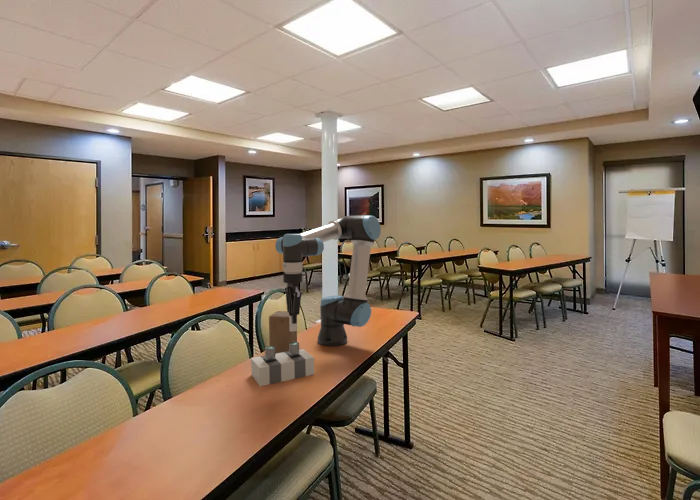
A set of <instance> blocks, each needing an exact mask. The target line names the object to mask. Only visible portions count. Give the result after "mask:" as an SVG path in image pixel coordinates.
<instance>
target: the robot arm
mask: <svg viewBox="0 0 700 500" xmlns="http://www.w3.org/2000/svg"><path fill="white" fill-rule="evenodd" d="M380 224H381V223H380V221H379V220H378V218H377V217H376V216H374V215H369V214H368V215H367V214H364V215H363V214H362V215H346V216H342V217H340V218H336V219H333V220H330V221H329V222H328V223H326V224H325V225H322V226H319V227H318V226H317V227H315V228H313V229H310V230H307V231H306V230H305V231H303V232H300V233H285V234H283V236H281V237H279V238H277V239H276V241H275V245H274V246H275V251H276V252H277V253H278V254H281V255H282V261H283V264H282V266H281V267H282V268H283V269H282V270H283V274H282V276H283V277H282V281H283V283H284V284H286V287H284V293H285V300H286V311H287V312H289V325H290V332H293V331H297V332H298V315H300V312H301V311H300V310H301V301H302V300H301V298H302V295H303V294H302V293H303V292H302V291H300V287H299V286H300V285H299V284H301V283H302V282H303V273H302V272H303V257H316V256H321V254H323V252H324V249H325V247H324V246H325V244H324V243H326V242H329V241H330V240H334V241H336V240H339V239H350V242H351V243H352V244H353V247H352V253H351V261H350V270H349V279H348V288H347V293H346V294H345V295H344V296H343V295H331V296H325V297H322V298H321V299H320V306H319V307H320V329H319V330H318V331H319V332H318V335H317V343H318V344H319V345H322V346H327V347H328V346H329V347H330V346H331V347H337V346H343V345H346V343H348V334H347V332H346V329H345V325H347V326H350V327H351V326H352V327H356V328H358V327H359V328H361V327H364V326H366V325H367V323H368V322H369V320H370V318H371V315H372V308H371V305H370V304H369V303H368V297H366V291H367V290H366V289H367V281H368V273H369V265H370V257H371V250H372V249H371V247H372V246H374V245H375V241H376V240H377V239H379V237H380V236H381V233H382V232H381V225H380Z"/></svg>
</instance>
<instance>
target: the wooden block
mask: <svg viewBox="0 0 700 500" xmlns="http://www.w3.org/2000/svg"><path fill="white" fill-rule="evenodd" d="M268 331H269V333H268V334H269V335H268V336H269V337H268V340H269V346H275V354H276V353H282V352H287V351H289V343H291V342H298V330H297V331H293V332H290V325H289V312H287V310H286V311H283V310H278V311H276V312H273V313H272V314H270V315H269V316H268Z"/></svg>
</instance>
